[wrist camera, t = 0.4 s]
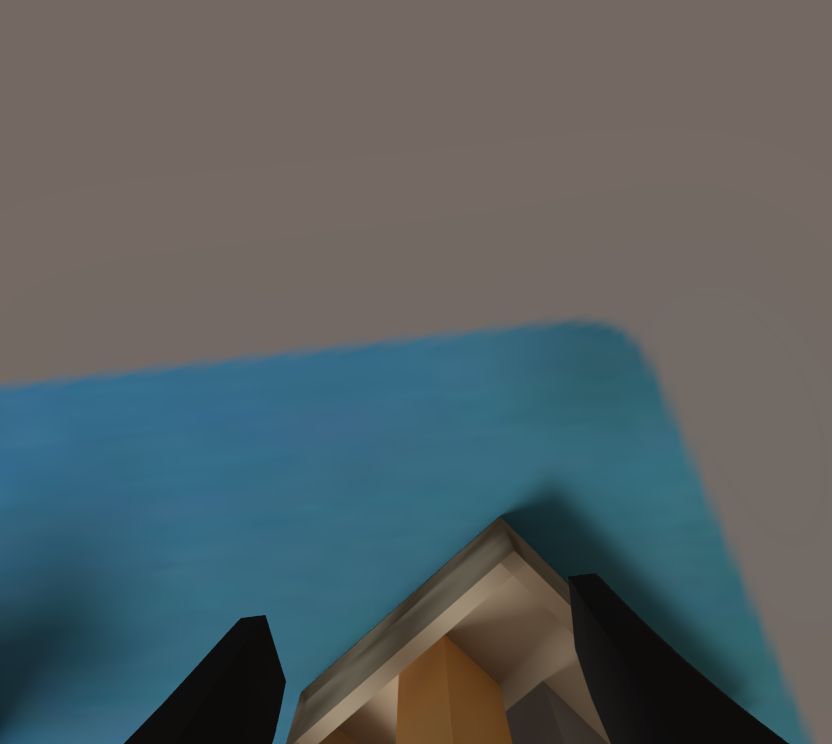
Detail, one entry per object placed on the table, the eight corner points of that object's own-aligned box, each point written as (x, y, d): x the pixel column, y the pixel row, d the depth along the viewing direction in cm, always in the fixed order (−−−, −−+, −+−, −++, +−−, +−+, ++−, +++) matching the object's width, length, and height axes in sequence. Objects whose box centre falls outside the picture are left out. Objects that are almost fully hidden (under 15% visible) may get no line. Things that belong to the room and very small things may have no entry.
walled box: (508, 873, 24) (521, 952, 21) (300, 692, 22) (283, 751, 19) (705, 721, 23) (748, 783, 20) (500, 516, 21) (514, 550, 18)
